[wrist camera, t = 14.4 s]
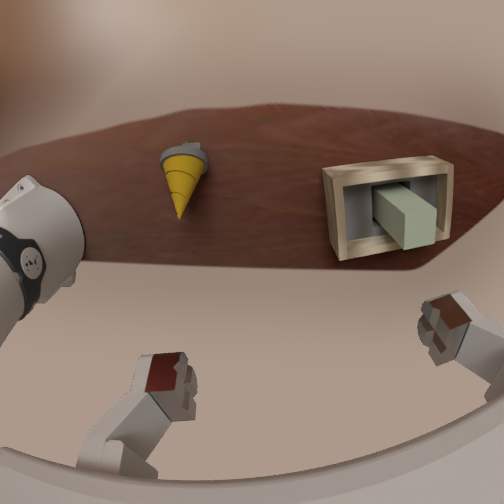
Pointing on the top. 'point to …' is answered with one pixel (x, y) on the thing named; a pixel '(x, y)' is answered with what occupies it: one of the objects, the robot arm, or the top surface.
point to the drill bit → (183, 171)
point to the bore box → (360, 201)
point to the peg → (404, 215)
